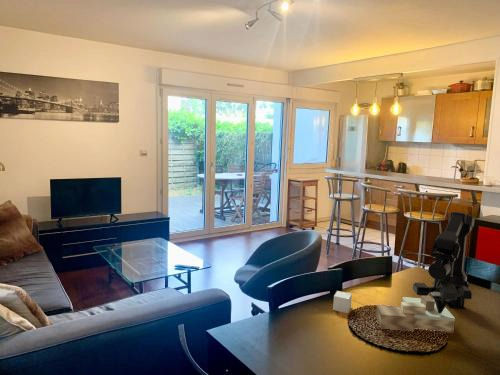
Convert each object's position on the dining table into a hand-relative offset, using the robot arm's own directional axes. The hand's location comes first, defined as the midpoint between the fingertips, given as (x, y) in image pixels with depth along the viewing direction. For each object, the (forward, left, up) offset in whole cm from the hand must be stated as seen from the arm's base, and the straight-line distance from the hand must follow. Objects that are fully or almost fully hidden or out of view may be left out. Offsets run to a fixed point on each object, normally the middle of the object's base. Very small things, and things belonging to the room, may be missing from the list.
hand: (439, 312), depth 138 cm
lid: (+2, -6, -3) cm, 7 cm away
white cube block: (+33, -11, -7) cm, 36 cm away
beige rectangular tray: (+8, -5, -6) cm, 12 cm away
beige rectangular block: (+9, 0, 0) cm, 9 cm away
